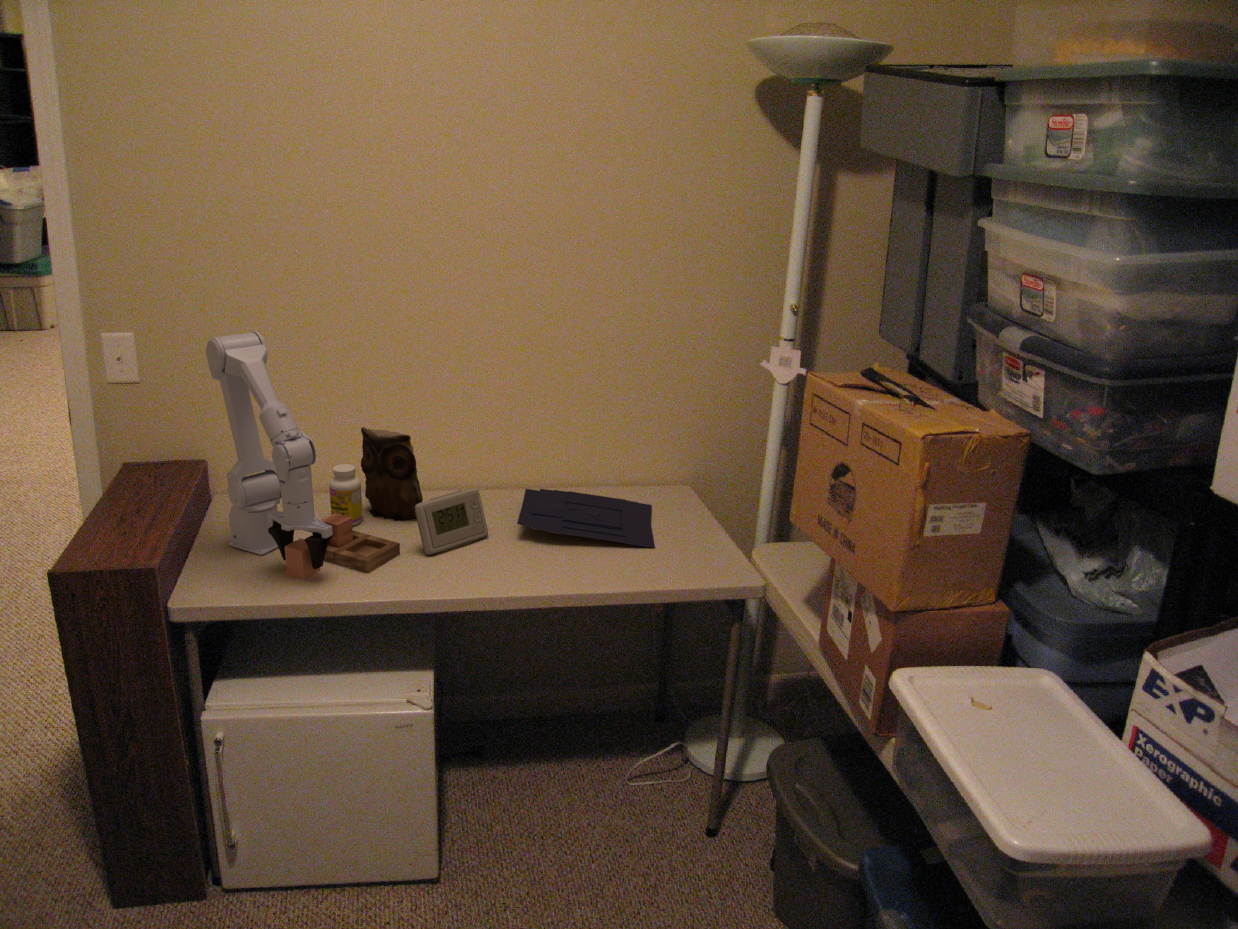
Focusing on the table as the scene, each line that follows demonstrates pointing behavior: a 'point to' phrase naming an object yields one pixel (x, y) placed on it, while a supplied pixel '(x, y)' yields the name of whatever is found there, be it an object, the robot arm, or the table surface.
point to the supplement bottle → (346, 493)
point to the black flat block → (588, 516)
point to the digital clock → (451, 520)
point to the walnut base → (357, 546)
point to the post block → (299, 559)
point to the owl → (390, 474)
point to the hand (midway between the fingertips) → (303, 562)
